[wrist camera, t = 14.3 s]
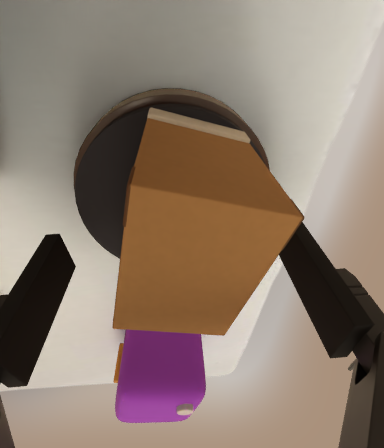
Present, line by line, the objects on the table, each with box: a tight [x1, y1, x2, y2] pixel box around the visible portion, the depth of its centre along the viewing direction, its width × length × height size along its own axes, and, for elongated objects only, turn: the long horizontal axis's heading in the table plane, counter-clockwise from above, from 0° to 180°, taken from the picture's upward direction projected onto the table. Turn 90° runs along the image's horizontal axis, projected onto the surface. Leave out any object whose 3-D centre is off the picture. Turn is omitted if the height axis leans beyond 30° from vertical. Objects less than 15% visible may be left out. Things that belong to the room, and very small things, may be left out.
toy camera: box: [114, 329, 206, 423], centre depth 30 cm, size 11×14×10 cm
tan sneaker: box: [75, 103, 304, 335], centre depth 14 cm, size 14×14×9 cm
